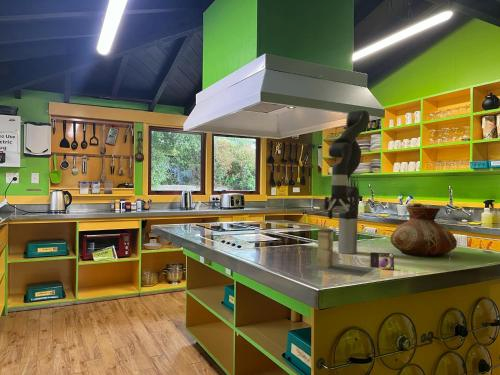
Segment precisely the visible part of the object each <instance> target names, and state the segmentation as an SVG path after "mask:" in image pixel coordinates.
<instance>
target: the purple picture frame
mask: <svg viewBox="0 0 500 375" xmlns="http://www.w3.org/2000/svg"><path fill="white" fill-rule="evenodd" d="M369 253H370V257H369V258H370V264H369V265H370V268H378V269H379V268H380V267H383V268H381V270H383V271H384V270H386V271H394V270H395V257H394V256H395V254H394V253H391V252H390V253H389V252H374V251H373V252H372V251H370V252H369ZM380 255H381V257H382V258H380ZM386 257H387V258H386ZM389 260H390V261H389ZM389 263H390V264H389ZM388 265H389V266H390V267H389V268H385V267H387V266H388Z"/></svg>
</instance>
